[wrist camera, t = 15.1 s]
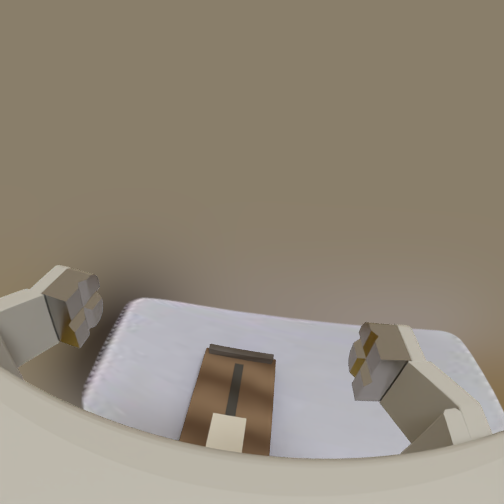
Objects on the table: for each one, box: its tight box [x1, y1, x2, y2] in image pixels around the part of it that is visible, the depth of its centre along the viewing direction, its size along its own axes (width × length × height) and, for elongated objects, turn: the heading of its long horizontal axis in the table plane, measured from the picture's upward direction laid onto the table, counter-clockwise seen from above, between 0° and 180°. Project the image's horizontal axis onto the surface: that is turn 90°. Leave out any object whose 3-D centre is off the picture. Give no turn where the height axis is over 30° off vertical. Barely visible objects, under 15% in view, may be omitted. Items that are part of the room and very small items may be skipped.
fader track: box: [179, 344, 276, 456], centre depth 28 cm, size 28×10×3 cm, turn 174°
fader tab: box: [206, 413, 246, 453], centre depth 20 cm, size 6×6×12 cm
